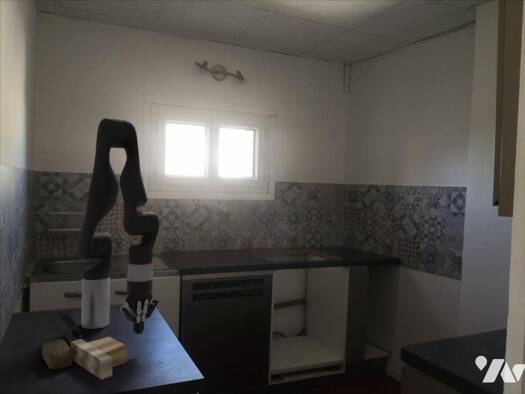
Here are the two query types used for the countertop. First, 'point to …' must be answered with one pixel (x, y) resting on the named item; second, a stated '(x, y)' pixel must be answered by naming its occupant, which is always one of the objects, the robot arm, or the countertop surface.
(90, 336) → the countertop surface
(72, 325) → the stone
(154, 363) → the countertop surface
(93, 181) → the robot arm
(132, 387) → the countertop surface
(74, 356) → the board
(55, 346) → the stone block
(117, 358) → the oak block
